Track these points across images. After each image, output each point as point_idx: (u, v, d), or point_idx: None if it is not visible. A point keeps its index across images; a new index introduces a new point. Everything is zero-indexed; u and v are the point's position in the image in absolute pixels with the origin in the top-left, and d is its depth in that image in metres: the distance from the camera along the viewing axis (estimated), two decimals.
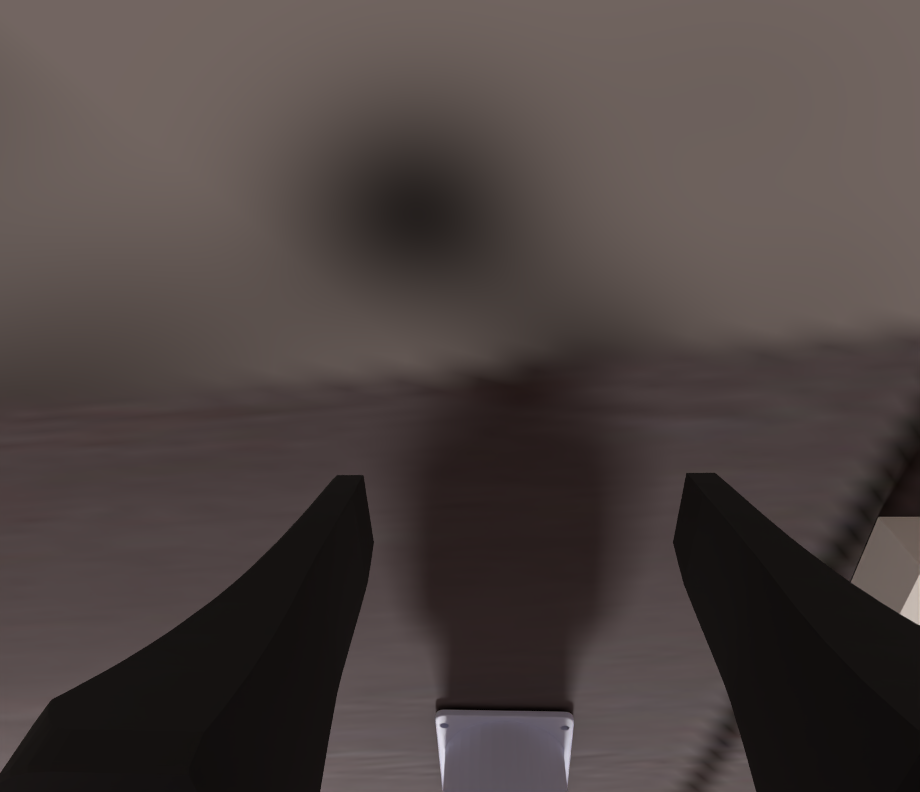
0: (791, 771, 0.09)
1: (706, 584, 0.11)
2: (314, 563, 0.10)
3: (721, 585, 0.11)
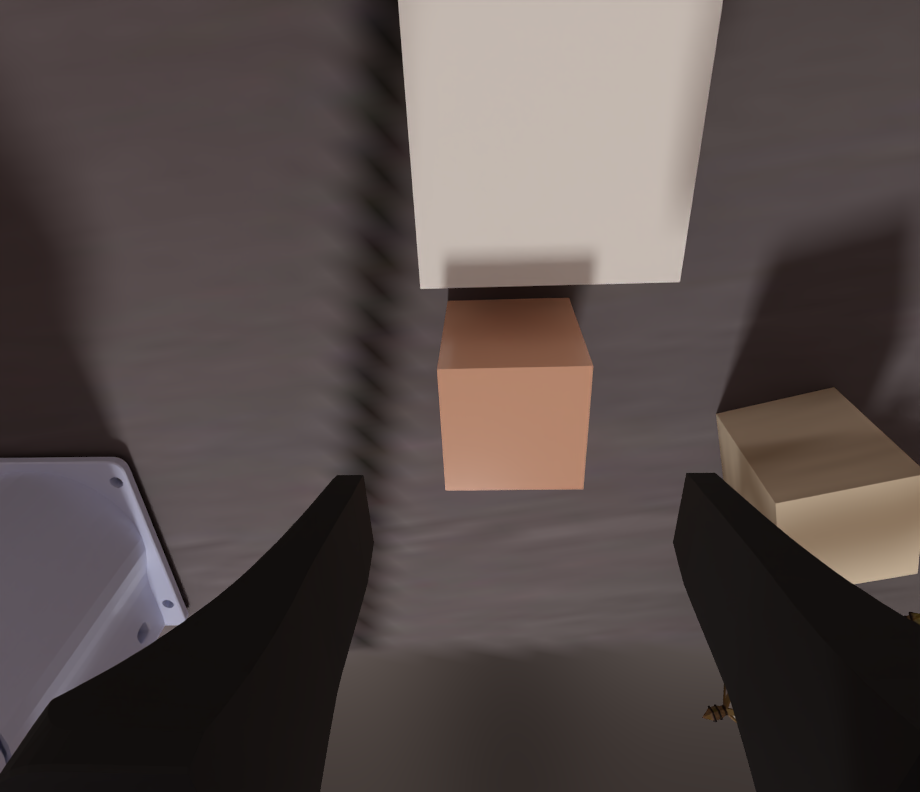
0: (791, 771, 0.09)
1: (706, 584, 0.11)
2: (314, 563, 0.10)
3: (721, 585, 0.11)
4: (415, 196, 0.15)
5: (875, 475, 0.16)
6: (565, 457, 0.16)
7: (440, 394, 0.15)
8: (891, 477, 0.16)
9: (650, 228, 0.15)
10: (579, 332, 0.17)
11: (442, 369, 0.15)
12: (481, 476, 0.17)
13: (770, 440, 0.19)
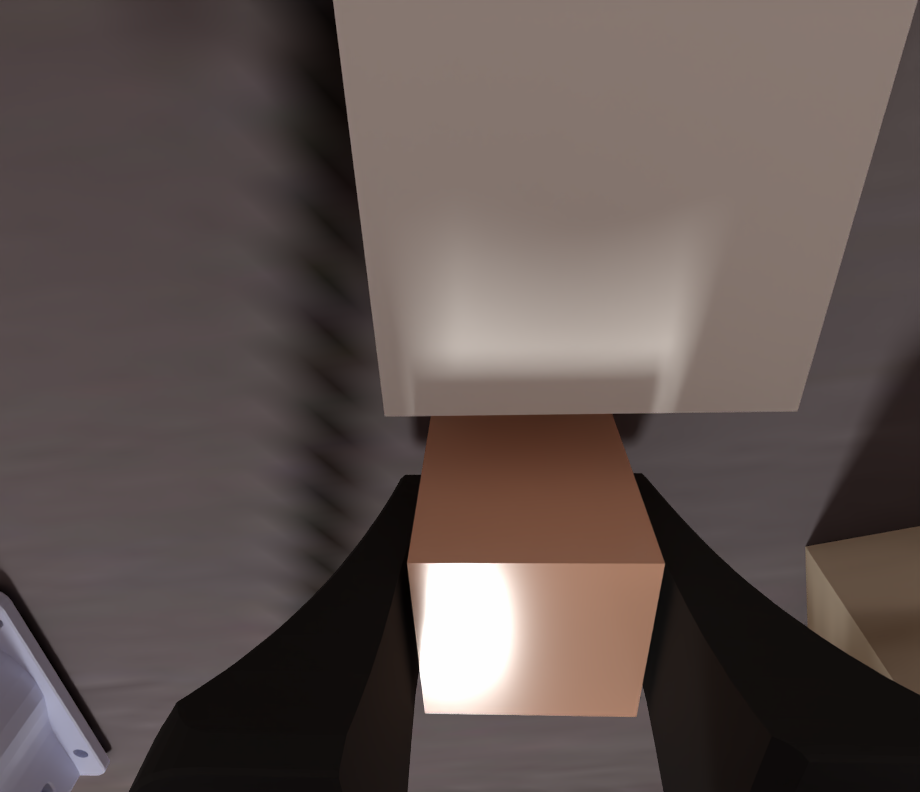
0: (685, 769, 0.09)
1: None
2: (403, 563, 0.10)
3: None
4: (371, 281, 0.09)
5: None
6: (610, 679, 0.10)
7: (413, 596, 0.09)
8: None
9: (758, 332, 0.09)
10: (632, 478, 0.11)
11: (416, 562, 0.09)
12: (479, 698, 0.11)
13: (896, 604, 0.13)
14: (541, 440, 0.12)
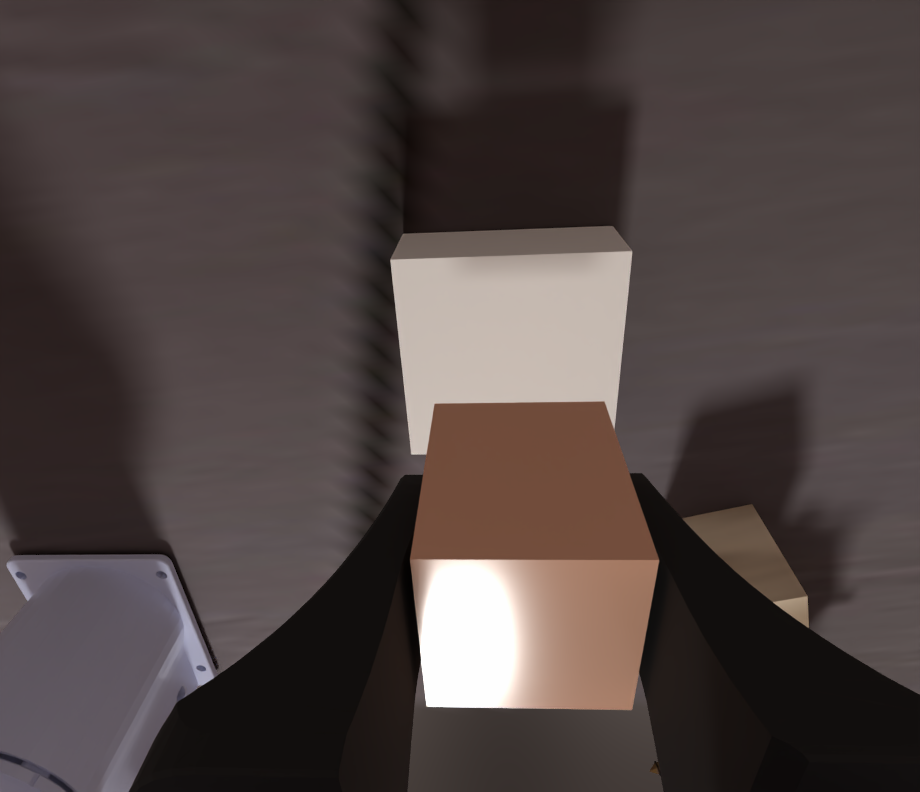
0: (685, 769, 0.09)
1: None
2: (402, 563, 0.10)
3: None
4: (406, 394, 0.19)
5: (769, 594, 0.21)
6: (607, 672, 0.11)
7: (416, 592, 0.10)
8: (781, 597, 0.21)
9: None
10: (628, 478, 0.11)
11: (418, 559, 0.09)
12: (479, 692, 0.11)
13: None
14: (540, 441, 0.12)
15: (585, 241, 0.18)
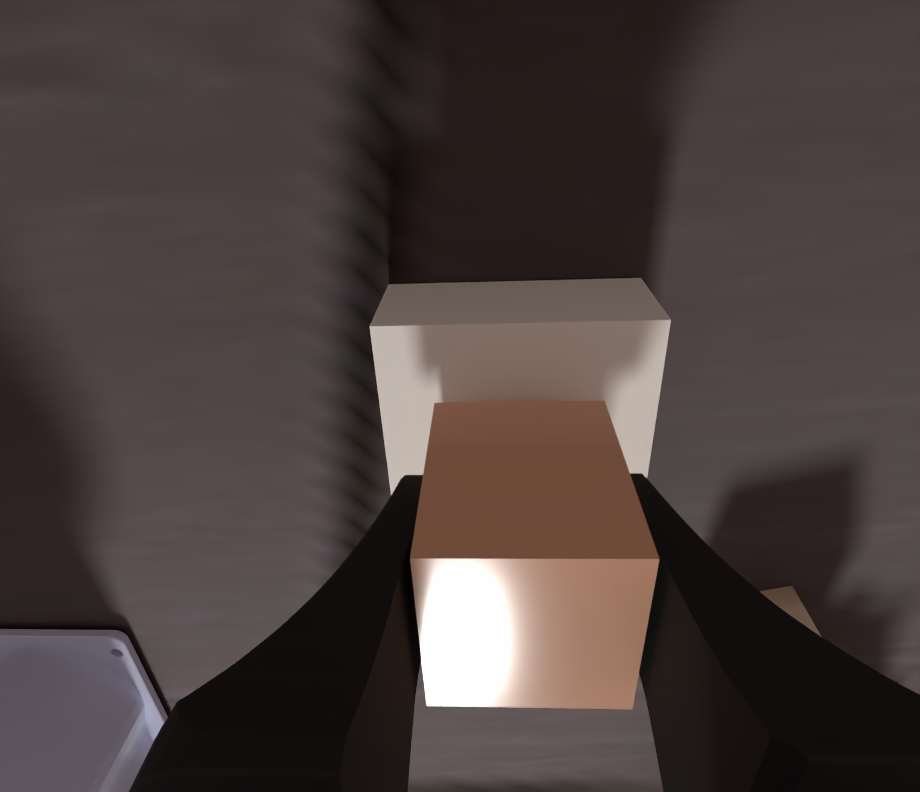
0: (685, 769, 0.09)
1: None
2: (403, 563, 0.10)
3: None
4: (391, 478, 0.16)
5: None
6: (607, 671, 0.11)
7: (416, 591, 0.10)
8: None
9: None
10: (628, 476, 0.11)
11: (418, 558, 0.09)
12: (480, 691, 0.11)
13: None
14: (540, 440, 0.12)
15: (610, 302, 0.14)
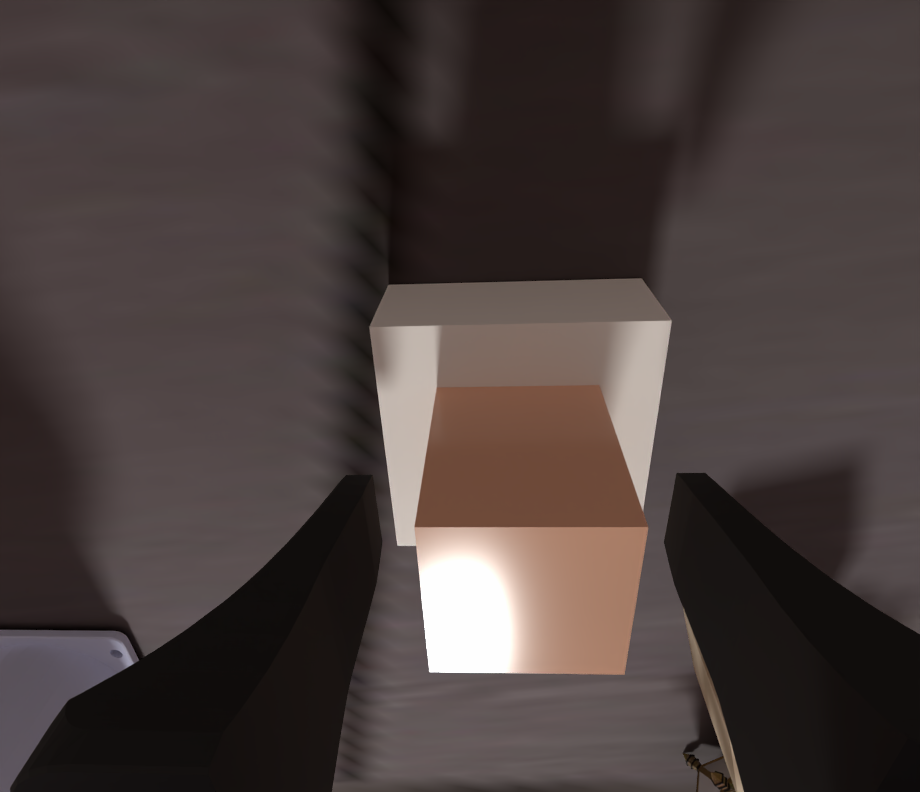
0: (776, 771, 0.09)
1: (695, 584, 0.12)
2: (326, 563, 0.10)
3: (710, 585, 0.11)
4: (391, 479, 0.16)
5: None
6: (600, 637, 0.11)
7: (420, 559, 0.10)
8: None
9: None
10: (620, 454, 0.12)
11: (422, 527, 0.10)
12: (480, 657, 0.12)
13: None
14: (537, 421, 0.13)
15: (611, 302, 0.14)
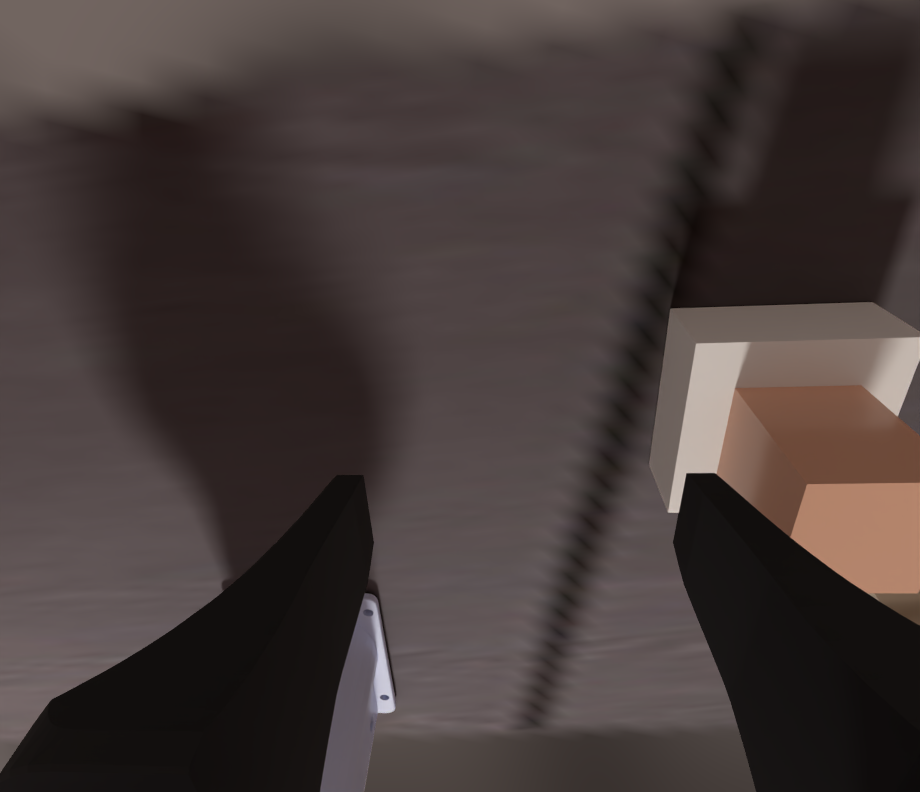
0: (791, 771, 0.09)
1: (706, 584, 0.11)
2: (314, 563, 0.10)
3: (721, 585, 0.11)
4: (678, 459, 0.21)
5: None
6: (910, 564, 0.16)
7: (802, 507, 0.15)
8: None
9: None
10: (916, 435, 0.16)
11: (811, 484, 0.15)
12: None
13: (906, 598, 0.25)
14: (835, 412, 0.17)
15: (867, 322, 0.19)
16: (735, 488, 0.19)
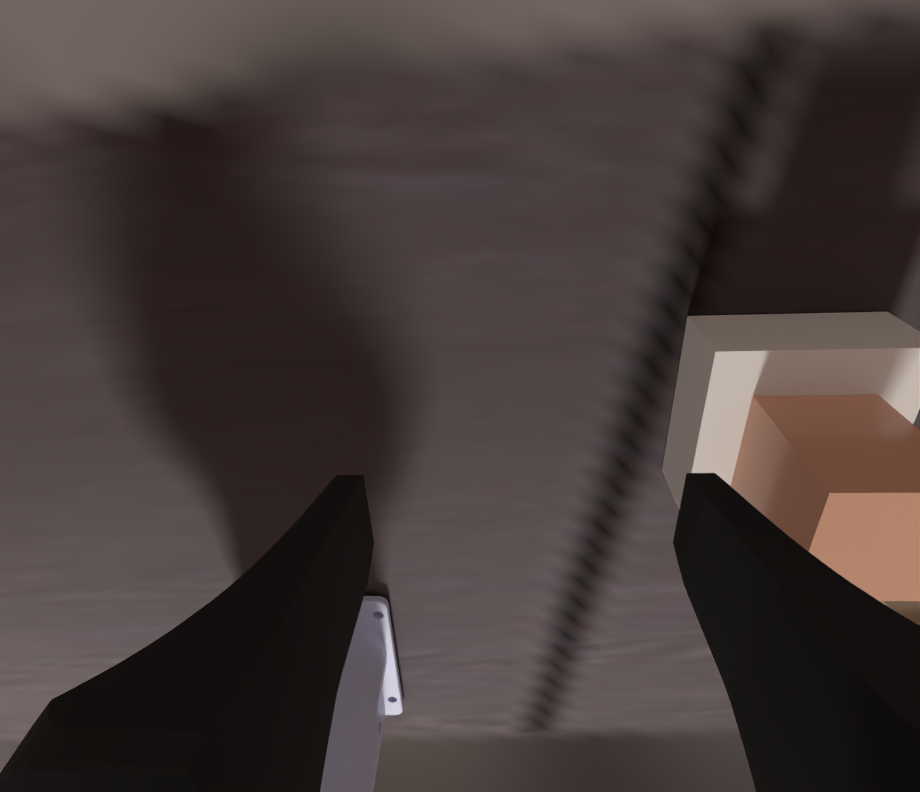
0: (791, 771, 0.09)
1: (706, 584, 0.11)
2: (314, 563, 0.10)
3: (721, 585, 0.11)
4: (694, 466, 0.21)
5: None
6: None
7: (824, 515, 0.15)
8: None
9: None
10: None
11: (833, 492, 0.15)
12: None
13: (915, 605, 0.25)
14: (853, 421, 0.18)
15: (883, 332, 0.19)
16: (752, 495, 0.19)
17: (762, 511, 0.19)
